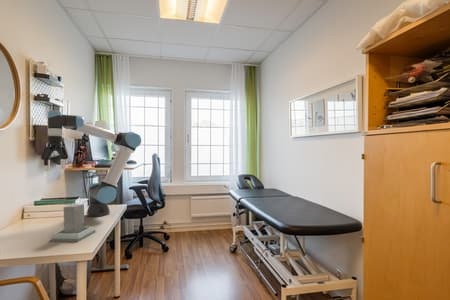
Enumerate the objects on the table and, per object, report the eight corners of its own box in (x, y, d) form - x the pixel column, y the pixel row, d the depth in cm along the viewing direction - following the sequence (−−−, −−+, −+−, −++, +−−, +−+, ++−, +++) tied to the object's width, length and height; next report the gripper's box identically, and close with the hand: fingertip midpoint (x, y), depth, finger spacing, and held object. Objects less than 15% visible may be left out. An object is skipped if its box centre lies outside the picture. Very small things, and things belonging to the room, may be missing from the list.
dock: (70, 231, 148) (70, 225, 148) (95, 232, 147) (95, 225, 147) (49, 241, 132) (49, 234, 132) (77, 242, 131) (77, 235, 131)
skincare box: (74, 237, 135) (74, 207, 135) (62, 236, 137) (62, 206, 137) (85, 232, 144) (85, 203, 144) (74, 231, 145) (74, 203, 145)
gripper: (63, 136, 172) (63, 168, 172) (33, 134, 147) (33, 171, 147) (74, 136, 171) (74, 168, 171) (45, 134, 147) (45, 171, 147)
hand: (55, 170), depth 159 cm, fingers open, 13 cm apart
